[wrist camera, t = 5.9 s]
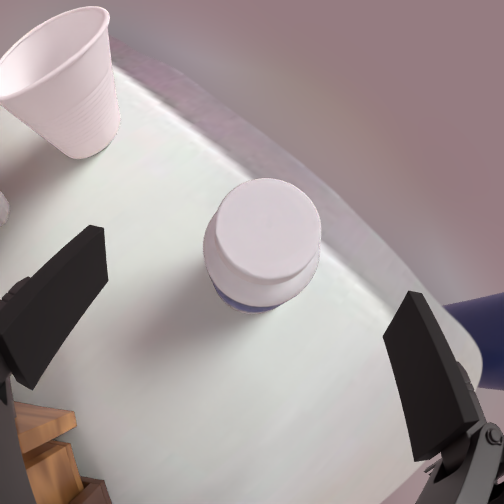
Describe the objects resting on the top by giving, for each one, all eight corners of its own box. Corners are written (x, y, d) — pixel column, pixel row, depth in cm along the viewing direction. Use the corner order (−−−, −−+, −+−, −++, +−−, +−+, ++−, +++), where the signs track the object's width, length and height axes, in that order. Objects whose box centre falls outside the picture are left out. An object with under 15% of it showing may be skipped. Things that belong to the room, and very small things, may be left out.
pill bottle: (303, 300, 20) (360, 272, 11) (226, 324, 19) (219, 319, 10) (277, 227, 21) (309, 150, 12) (203, 248, 21) (180, 181, 11)
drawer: (-22, 346, 16) (-77, 342, 9) (66, 354, 17) (4, 357, 10) (21, 511, 12) (-16, 537, 5) (115, 540, 13) (88, 585, 6)
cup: (164, 108, 24) (139, 6, 13) (95, 198, 21) (22, 113, 10) (92, 85, 24) (57, 7, 14) (30, 159, 22) (-31, 91, 11)
